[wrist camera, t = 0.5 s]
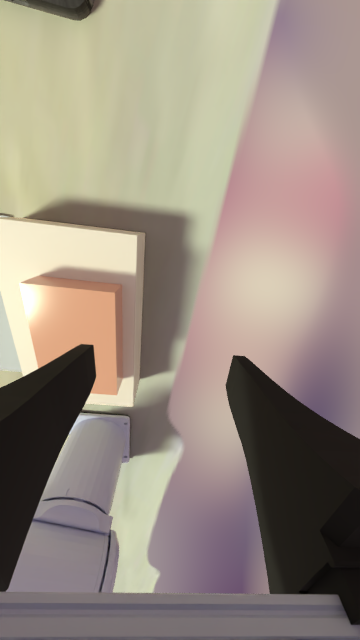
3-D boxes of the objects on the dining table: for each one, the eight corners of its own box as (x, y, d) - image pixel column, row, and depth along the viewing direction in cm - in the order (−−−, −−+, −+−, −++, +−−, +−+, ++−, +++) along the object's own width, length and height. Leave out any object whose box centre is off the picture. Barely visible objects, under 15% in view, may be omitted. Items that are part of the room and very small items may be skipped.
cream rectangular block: (139, 379, 24) (133, 406, 20) (52, 372, 24) (29, 399, 20) (145, 232, 17) (137, 235, 14) (22, 217, 17) (-20, 216, 13)
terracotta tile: (122, 378, 19) (117, 395, 17) (56, 373, 19) (43, 389, 17) (122, 284, 15) (114, 292, 13) (38, 275, 15) (19, 282, 13)
